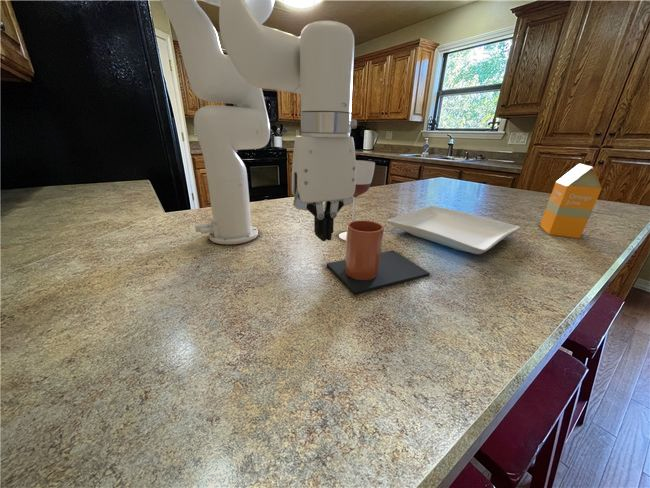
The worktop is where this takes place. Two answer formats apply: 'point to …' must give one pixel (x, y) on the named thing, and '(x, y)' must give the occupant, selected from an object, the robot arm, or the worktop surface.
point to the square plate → (454, 228)
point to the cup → (363, 249)
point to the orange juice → (571, 202)
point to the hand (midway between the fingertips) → (323, 237)
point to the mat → (381, 273)
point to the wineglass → (361, 184)
